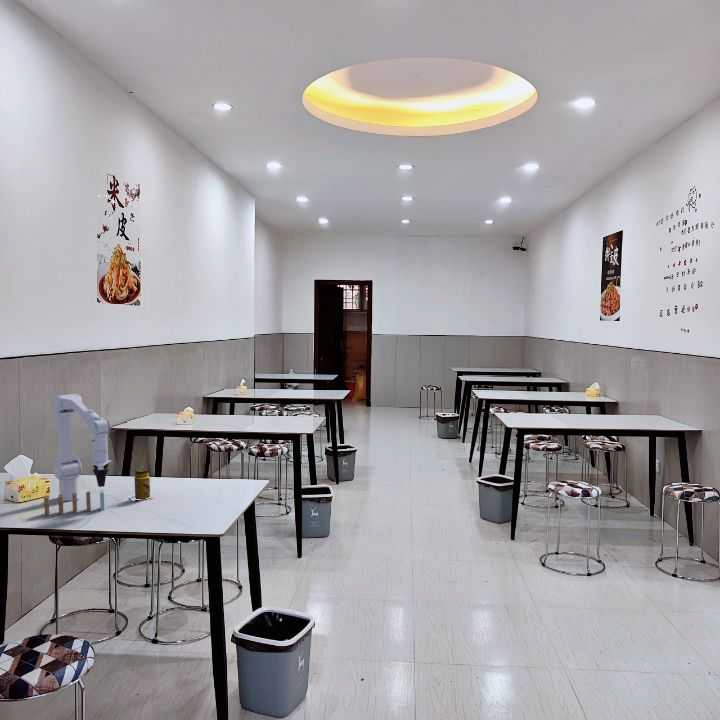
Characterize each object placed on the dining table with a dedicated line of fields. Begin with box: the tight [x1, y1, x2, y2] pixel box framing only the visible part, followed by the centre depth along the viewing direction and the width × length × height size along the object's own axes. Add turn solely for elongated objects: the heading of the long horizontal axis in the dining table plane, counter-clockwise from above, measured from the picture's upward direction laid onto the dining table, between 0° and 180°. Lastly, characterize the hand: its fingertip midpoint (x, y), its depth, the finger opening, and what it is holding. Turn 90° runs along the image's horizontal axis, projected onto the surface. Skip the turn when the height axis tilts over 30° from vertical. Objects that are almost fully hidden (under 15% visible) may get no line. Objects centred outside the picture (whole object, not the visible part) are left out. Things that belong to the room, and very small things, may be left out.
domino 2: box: [57, 493, 64, 515], centre depth 274 cm, size 4×1×7 cm, turn 20°
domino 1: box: [43, 494, 51, 517], centre depth 273 cm, size 4×1×7 cm, turn 20°
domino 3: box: [71, 493, 78, 514], centre depth 276 cm, size 4×1×7 cm, turn 20°
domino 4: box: [85, 491, 92, 513], centre depth 278 cm, size 4×1×7 cm, turn 20°
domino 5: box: [99, 489, 105, 511], centre depth 280 cm, size 4×1×7 cm, turn 20°
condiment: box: [134, 468, 151, 499], centre depth 295 cm, size 7×8×12 cm
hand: (101, 484), depth 279 cm, fingers open, 7 cm apart
